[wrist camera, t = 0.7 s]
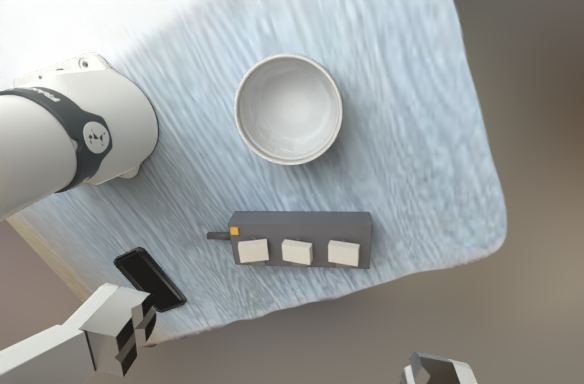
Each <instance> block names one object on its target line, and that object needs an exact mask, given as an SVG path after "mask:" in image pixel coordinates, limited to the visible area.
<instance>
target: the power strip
mask: <svg viewBox="0 0 584 384" xmlns="http://www.w3.org/2000/svg"><path fill="white" fill-rule="evenodd" d="M228 227H229V233H228V232H208V233H207V239H224V240H231V244H232V249H233V255H234V260H235V264H237V265H261V266H265V265H268V266H293V267H332V268H364V269H369V265H370V248H371V231H372V224H371V219H370V215H369V212H272V211H235V213H234V214H233V216H232V218H231V219H230V221H229V223H228ZM260 239H267V245H268V254H269V260H263V261H254V262H245V263H241V262H240V256H239V250H238V242H242V241H251V240H260ZM285 239H287V240H294V241H300V242H306V243H312V253H313V260H312V262H311V264H310V265H306V264H301V263H295V262H290V261H285V260H283V254H282V243H283V241H284V240H285ZM330 240H334V241H341V242H347V243H354V244H360V248H359V263H358V267H357V266H351V265H345V264H340V263H334V262H328V244H329V242H330Z"/></svg>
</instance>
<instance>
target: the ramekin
mask: <svg viewBox="0 0 584 384" xmlns="http://www.w3.org/2000/svg"><path fill="white" fill-rule="evenodd" d="M234 118H235V123H236V126H237V129H238V131H239V133H240V135H241V137H242V139H243V140H244V142H245V143H246V144H247V146H248V147H249V148H250V149H251V150H252V151H253V152H254V153H256V154H257V155H258V156H260V157H262V158H263V159H265V160H267V161H270V162H273V163H276V164H281V165H299V164H304V163H307V162H310V161H312V160H314V159H316V158H318V157H319V156H321V155H322V154H323V153H324V152H326V151H327V150H328V149H329V147H330V146H331V145H332V144H333V142H334V141H335V139H336V137H337V135H338V133H339V131H340V128H341V124H342V118H343V104H342V98H341V94H340V91H339V88H338V86H337V84H336V82H335V80H334V79H333V77H332V76H331V74H330V73H329V72H328V71H327V70H326V69H325V68H324V67H323V66H322V65H320V64H319V63H318V62H316V61H315V60H313V59H311V58H309V57H307V56H304V55H300V54H296V53H280V54H275V55H272V56H269V57H266V58H264V59H262V60H261V61H259V62H258V63H256V64H255V65H254V66H252V67H251V68H250V69H249V70H248V71H247V73H246V74H245V75H244V77H243V78H242V80H241V82H240V83H239V86H238V88H237V91H236V94H235V99H234Z"/></svg>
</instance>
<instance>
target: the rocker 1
mask: <svg viewBox="0 0 584 384" xmlns="http://www.w3.org/2000/svg"><path fill="white" fill-rule="evenodd" d="M238 250H239V256H240V262H241V263H245V262H254V261H263V260H269V254H268V245H267V239H260V240H251V241H242V242H238Z"/></svg>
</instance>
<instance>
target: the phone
mask: <svg viewBox="0 0 584 384" xmlns="http://www.w3.org/2000/svg"><path fill="white" fill-rule="evenodd" d="M114 265H115V266H116V267H117V268H118V269H119V270H120V271H121V272H122V274H123V275H124V276H125V277H126V278H127V279H128V280H129V281H130V282H131V283H132V285H133V286H134V287H135V288H136V289H137V290H138V291H142V292H146V293H150V294H154V297H155V303H154V304H153V306H152V307H153V308H154V309H155V310H156V311H158V312H161V313H162V312H165V311H168V310H171V309H173V308H176V307H179V306H182V305H184V303H185V302H186V298H185V296H184V295H183V294H182V293H181V292H180V290H179V289H178V288H177V287H176V286H175V284H174V283H173V282H172V281H171V280H170V278H169V277H168V276H167V275H166V274H165V273H164V271H163V270H162V269H161V268H160V267H159V265H158V264H157V263H156V262H155V261H154V260H153V258H152V257H151V256H150V255H149V254H148V252H147V251H146V250H145V249H144V248H141V247H138V248H135V249H133V250H131V251H129V252H127V253H125V254H123V255H120V256H118V257H117V258H116V259H115V260H114Z"/></svg>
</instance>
